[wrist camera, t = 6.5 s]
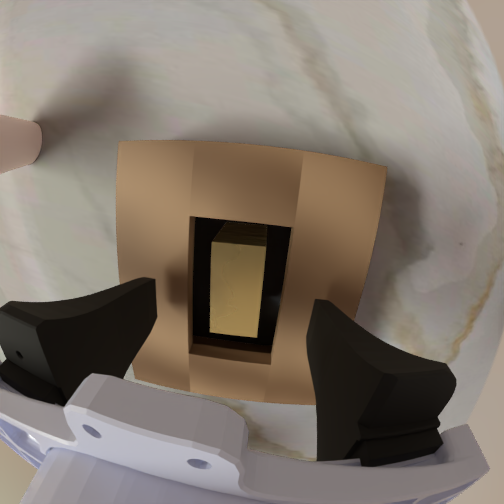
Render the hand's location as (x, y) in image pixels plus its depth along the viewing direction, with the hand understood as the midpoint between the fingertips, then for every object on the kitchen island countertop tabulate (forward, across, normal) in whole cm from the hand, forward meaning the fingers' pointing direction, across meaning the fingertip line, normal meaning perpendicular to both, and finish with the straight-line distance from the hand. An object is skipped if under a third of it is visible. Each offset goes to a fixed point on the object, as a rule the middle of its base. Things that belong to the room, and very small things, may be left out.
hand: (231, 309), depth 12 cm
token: (+6, 0, 0) cm, 6 cm away
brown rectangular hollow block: (+6, 0, 0) cm, 6 cm away
